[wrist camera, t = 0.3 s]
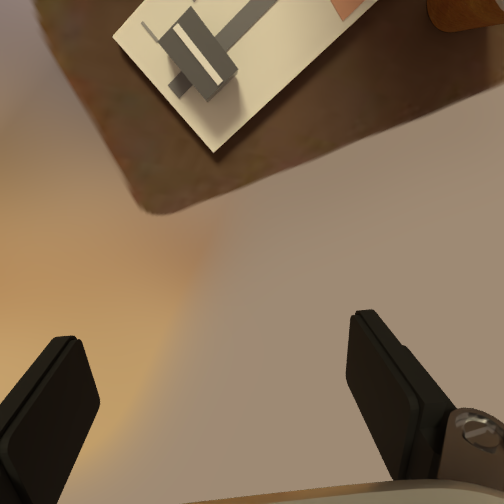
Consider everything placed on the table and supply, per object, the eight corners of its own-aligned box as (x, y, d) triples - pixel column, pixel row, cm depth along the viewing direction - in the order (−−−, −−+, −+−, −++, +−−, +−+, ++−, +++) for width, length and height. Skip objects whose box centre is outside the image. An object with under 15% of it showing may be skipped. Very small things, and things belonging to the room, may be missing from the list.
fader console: (328, -196, 26) (334, -216, 25) (408, -30, 31) (417, -37, 29) (117, 40, 31) (111, 36, 30) (213, 151, 36) (213, 153, 34)
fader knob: (194, 17, 29) (190, 5, 26) (237, 74, 31) (238, 68, 28) (164, 49, 30) (156, 41, 27) (207, 102, 32) (205, 100, 29)
